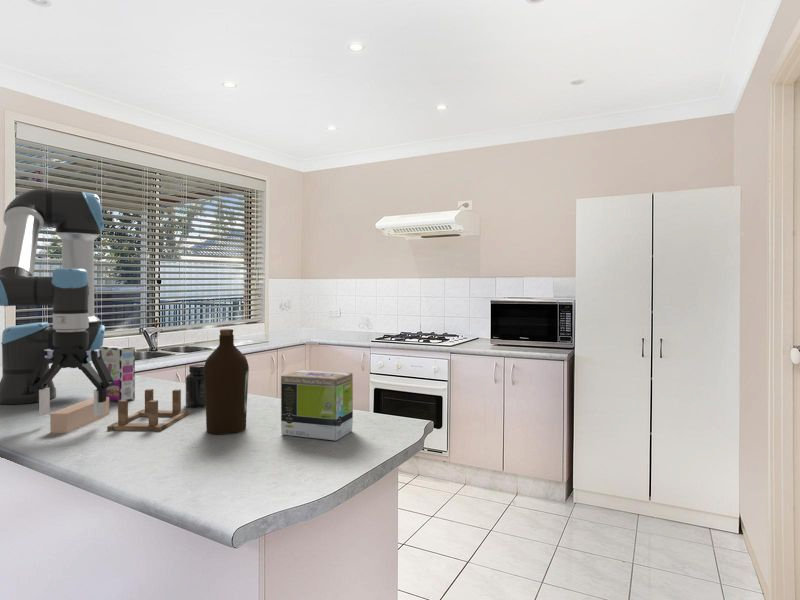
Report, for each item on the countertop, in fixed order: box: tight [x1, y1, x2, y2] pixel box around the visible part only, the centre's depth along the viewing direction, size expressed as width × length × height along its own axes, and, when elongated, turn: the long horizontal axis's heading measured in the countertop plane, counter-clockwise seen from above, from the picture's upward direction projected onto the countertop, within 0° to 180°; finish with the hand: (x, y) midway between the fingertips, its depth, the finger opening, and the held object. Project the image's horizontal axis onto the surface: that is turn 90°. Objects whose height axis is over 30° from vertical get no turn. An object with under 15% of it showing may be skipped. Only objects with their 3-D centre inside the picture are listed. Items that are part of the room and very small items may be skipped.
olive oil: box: [204, 328, 250, 435], centre depth 127 cm, size 11×11×25 cm
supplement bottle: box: [185, 363, 206, 409], centre depth 151 cm, size 7×7×12 cm
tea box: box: [280, 369, 354, 442], centre depth 125 cm, size 15×10×15 cm, turn 71°
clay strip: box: [49, 396, 110, 434], centre depth 131 cm, size 18×4×5 cm, turn 0°
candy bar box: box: [100, 345, 136, 402], centre depth 158 cm, size 11×5×16 cm, turn 61°
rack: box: [106, 388, 191, 432], centre depth 133 cm, size 17×13×7 cm
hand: (71, 415), depth 127 cm, fingers open, 13 cm apart
